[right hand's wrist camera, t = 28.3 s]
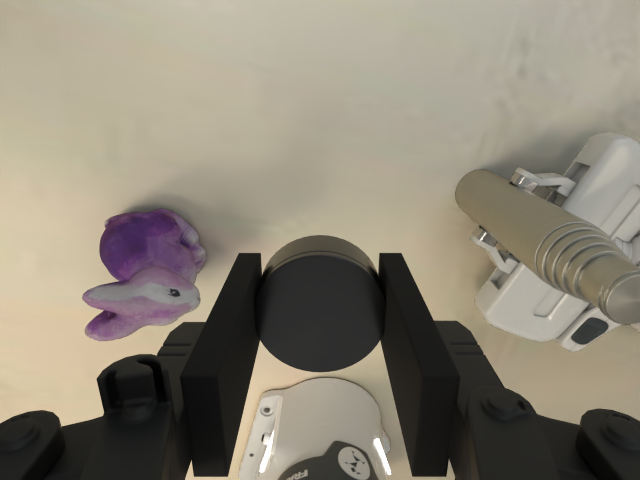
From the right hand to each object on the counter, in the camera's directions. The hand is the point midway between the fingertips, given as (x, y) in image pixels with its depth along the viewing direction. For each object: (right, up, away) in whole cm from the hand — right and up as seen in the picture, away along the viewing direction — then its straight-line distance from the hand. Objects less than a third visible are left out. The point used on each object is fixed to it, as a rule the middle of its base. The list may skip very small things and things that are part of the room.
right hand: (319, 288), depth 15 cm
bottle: (+17, +7, +29) cm, 34 cm away
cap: (0, -1, -2) cm, 2 cm away
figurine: (-17, +2, +31) cm, 35 cm away
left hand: (+16, +5, +23) cm, 29 cm away
